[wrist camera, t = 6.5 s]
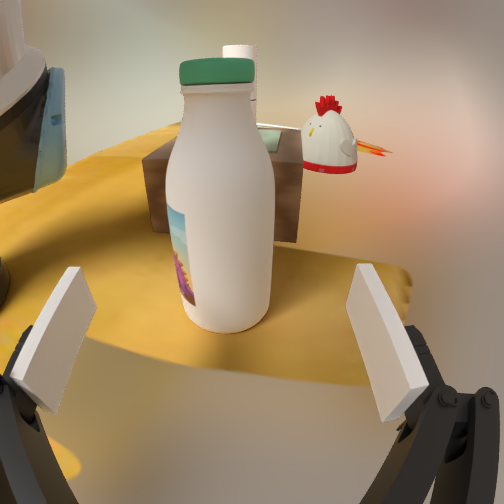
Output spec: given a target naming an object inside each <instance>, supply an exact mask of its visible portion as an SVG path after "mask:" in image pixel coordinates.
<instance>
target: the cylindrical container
mask: <svg viewBox="0 0 504 504" xmlns="http://www.w3.org/2000/svg"><path fill="white" fill-rule="evenodd" d="M223 58H248V59H252V60H253V61H254V65H255V77H254V81H253V87H254V90H253V91H252V92H251V96H250V101H251V108H252V112H253V116H254V119H255V122H256V78H257V46H254V45H228V46H223Z"/></svg>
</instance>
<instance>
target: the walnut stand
mask: <svg viewBox="0 0 504 504" xmlns="http://www.w3.org/2000/svg"><path fill="white" fill-rule="evenodd" d="M258 130H259V133H260V135H261V137H262V140H263V142H264V144H265V146H266V149H267V151H268V153H269V156H270V159H271V163H272V167H273V172H274V181H275V218H274V241H281V242H293V243H296V239H297V230H298V219H299V209H300V199H301V187H302V175H303V150H302V137H301V130H293V129H278V128H258ZM176 139H177V136H176V137H175V138H173V139H172V140H170V141H169V142H167V143H166V144H164V145H162V146H161V147H159V148H158V149H156V150H155V151H154V152H152V153H151V154H149V155H148V156H146V157H145V158H143V159H142V164H143V172H144V179H145V186H146V192H147V198H148V205H149V211H150V216H151V222H152V227H153V232H166V233H170V228H169V220H168V212H167V202H166V173H167V167H168V162H169V158H170V155H171V152H172V150H173V147H174V144H175V141H176Z"/></svg>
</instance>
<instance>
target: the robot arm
mask: <svg viewBox="0 0 504 504" xmlns="http://www.w3.org/2000/svg"><path fill="white" fill-rule="evenodd" d="M66 167H67V149H66V127H65V76H64V70H63V69H62V68H53V67H52V68H50V69H49V70H47V67H46V61H45V57H44V54H43V52H42V51H41V50H39V49H37V48H34V47H31V46H27V45H26V44H25V39H24V32H23V24H22V14H21V3H20V0H0V204H1V203H4V202H7V201H9V200H12V199H15V198H18V197H20V196H23V195H26V194H29V193H35V192H36V191H37V190H38V189H40V188H42V187H45V186H47V185H50V184H52V183H55V182H57V181H58V180H60V179H61V178H62V177H63V175H64V173H65V171H66ZM9 285H10V275H9V273H8V271H7V268H6V266H5V264H4V262H3V260H2V259H1V257H0V306H1V304H2V302H3V300H4V299H5V297H6V294H7V292H8V289H9ZM345 308H346V311H347V314H348V316H349V319H350V322H351V325H352V328H353V331H354V334H355V337H356V340H357V343H358V346H359V349H360V352H361V355H362V358H363V361H364V365H365V368H366V371H367V374H368V377H369V381H370V384H371V387H372V391H373V394H374V398H375V401H376V404H377V408H378V412H379V415H380V419H381V422H382V423H383V422H388V421H392V420H396V419H399V418H400V417H401V415H402V414H403V413H405V416H406V420H405V421H404V422H403V423H402V424H401V425H400V426H399V427H398V428H397V431H399V430H400V429H401V430H400V432H399V434H398V436H397V438H396V441H395V442H394V445H393V446H392V448H391V451H390V452H389V455H388V456H387V458H386V460H385V462H384V463H383V465H382V467H381V469H380V471H379V473H378V474H377V476H376V478H375V480H374V481H373V483H372V485H371V486H370V488H369V489H368V491H367V493H366V494H365V496H364V497H363V499H362V500H361V502H360V504H423V502H424V500H425V498H426V496H427V494H428V492H429V490H430V487H431V485H432V483H433V481H434V478H435V476H436V479H435V484H434V488H433V493H432V497H431V501H430V504H493V503H494V497H495V490H496V483H497V473H498V462H499V443H500V414H499V399H498V396H497V394H496V392H495V391H493V390H492V389H491V388H488V387H482V388H481V389H479V390H478V391H477V392H476V393H475V394H464V393H457V391H456V390H455V389H454V388H452V387H451V386H448V385H446V384H445V383H444V381H443V379H442V377H441V374H440V372H439V370H438V368H437V365H436V363H435V361H434V359H433V356H432V354H430V350H429V348H428V346H427V345H426V342H425V340H424V338H423V336H422V334H421V333H420V331H419V330H417V329H416V328H415V326H414V325H412V326H403V324H402V322H401V320H400V318H399V316H398V313H397V311H396V309H395V307H394V305H393V303H392V301H391V299H390V297H389V295H388V293H387V292H386V290H385V288H384V286H383V284H382V282H381V280H380V278H379V276H378V274H377V273H376V271H375V269H374V267H373V265H372V263H370V264H357V265H356V269H355V273H354V277H353V280H352V284H351V287H350V291H349V294H348V298H347V301H346V305H345ZM96 309H97V306H96V304H95V302H94V299H93V297H92V295H91V292H90V290H89V287H88V285H87V282H86V280H85V277H84V275H83V272H82V270H81V267H68V268H67V270H66V271H65V273H64V274H63V276H62V278H61V279H60V281H59V282H58V284H57V286H56V287H55V289H54V291H53V292H52V294H51V296H50V297H49V299H48V301H47V303H46V304H45V306H44V308H43V310H42V311H41V313H40V315H39V317H38V319H37V320H36V322H35V324H34V326H33V325H30V326H29V327H28V328H27V329H26V330H25V331H24V332H23V334H22V336H21V338H20V340H19V343H18V344H17V346H16V348H15V351H14V352H13V354H12V356H11V358H10V360H9V362H8V364H7V367H6V369H5V371H4V373H3V375H1V374H0V504H79V503H78V502H77V500H76V498H75V496H74V494H73V493H72V491H71V489H70V487H69V486H68V483H67V481H66V479H65V477H64V475H63V473H62V471H61V469H60V467H59V464H58V462H57V460H56V458H55V455H54V453H53V451H52V448H51V446H50V443H49V441H48V438H47V436H46V433H45V431H44V428H43V425H42V422H41V419H40V417H39V414H38V412H37V411H36V407H37V405H38V406H39V407H40V408H41V409H42V410H43V411H45V412H48V413H51V414H55V415H57V413H58V410H59V407H60V404H61V400H62V397H63V394H64V391H65V388H66V385H67V382H68V379H69V377H70V374H71V371H72V368H73V365H74V362H75V360H76V357H77V355H78V352H79V349H80V347H81V344H82V342H83V339H84V337H85V334H86V332H87V330H88V327H89V325H90V322H91V320H92V318H93V315H94V313H95V311H96Z"/></svg>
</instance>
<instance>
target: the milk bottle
mask: <svg viewBox="0 0 504 504" xmlns="http://www.w3.org/2000/svg"><path fill="white" fill-rule="evenodd" d="M179 69H180V70H179V77H180V84H181V85H182V86H181V92H180V93H181V94H183V96H184V101H185V105H184V113H183V118H182V122H181V126H180V130H179V133H178V136H177V139H176V141H175V144H174V147H173V150H172V152H171V155H170V158H169V162H168V167H167V173H166V202H167V212H168V220H169V228H170V234H171V241H172V248H173V254H174V260H175V265H176V271H177V276H178V282H179V287H180V292H181V297H182V302H183V305H184V309H185V312H186V314H187V316H188V317H189V318H190V319H191V320H192V321H193V322H194V323H195V324H196V325H197V326H198V327H200V328H202V329H204V330H207V331H210V332H213V333H220V334H231V333H237V332H241V331H244V330H247V329H249V328H250V327H252V326H254V325H255V324H257V323H258V322H259V321H260V320H261V319H262V317H263V316H264V315H265V314H266V312H267V310H268V307H269V302H270V292H271V277H272V260H273V242H274V218H275V181H274V172H273V167H272V163H271V159H270V156H269V153H268V151H267V149H266V146H265V144H264V142H263V140H262V137H261V135H260V133H259V130H258V128H257V125H256V122H255V119H254V116H253V112H252V108H251V101H250V96H251V92H252V91H253V90H254V87H253V81H254V77H255V65H254V61H253V60H252V59H248V58H206V59H196V60H189V61H184V62H182V63H181V64H180V68H179Z"/></svg>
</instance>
